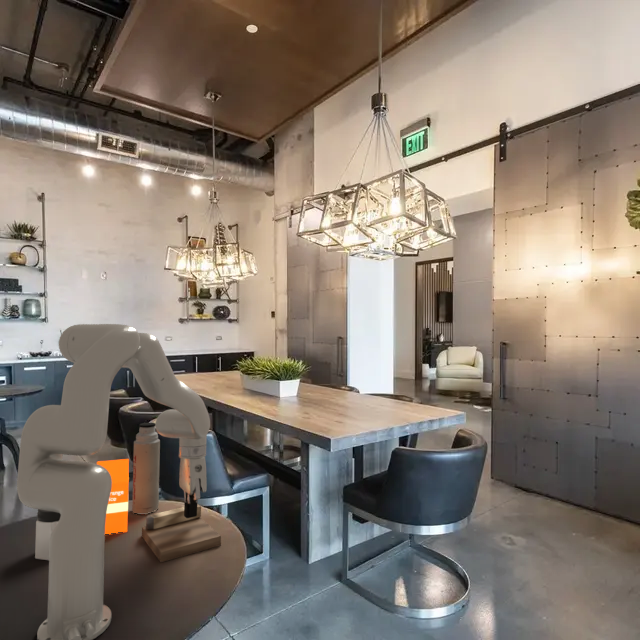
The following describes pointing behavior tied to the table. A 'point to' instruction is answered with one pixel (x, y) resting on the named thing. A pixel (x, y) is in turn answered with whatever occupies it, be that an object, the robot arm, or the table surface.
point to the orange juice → (117, 495)
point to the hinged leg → (168, 518)
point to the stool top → (181, 539)
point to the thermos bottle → (146, 469)
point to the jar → (45, 532)
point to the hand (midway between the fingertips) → (190, 516)
